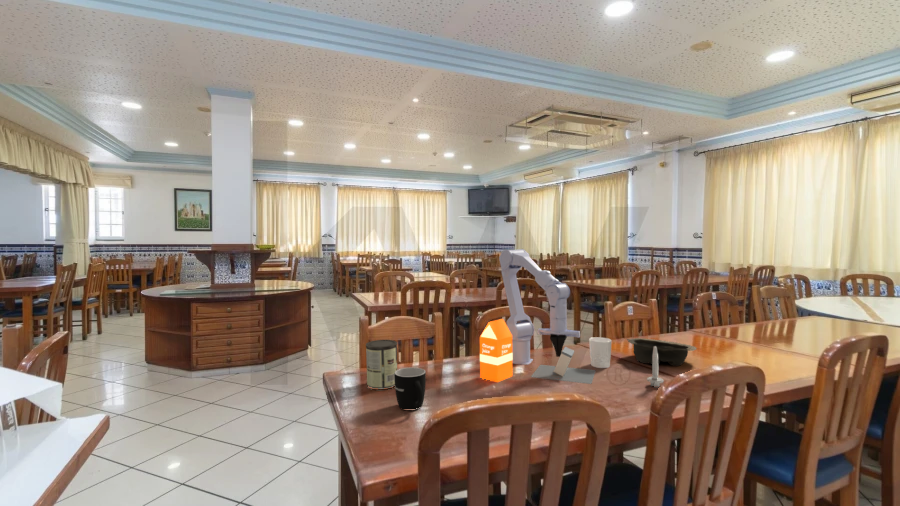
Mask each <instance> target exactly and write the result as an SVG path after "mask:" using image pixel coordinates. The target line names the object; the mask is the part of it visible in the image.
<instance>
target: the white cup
mask: <svg viewBox="0 0 900 506" xmlns="http://www.w3.org/2000/svg"><path fill="white" fill-rule="evenodd" d="M588 342H589V343H588V344H589V358H590V365H591V367H594V368H598V369H608V368H610V367H611V358H612V357H611V356H612V339H610V338H608V337H602V336H601V337H599V336H598V337H597V336H595V337H590V338H588Z"/></svg>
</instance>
